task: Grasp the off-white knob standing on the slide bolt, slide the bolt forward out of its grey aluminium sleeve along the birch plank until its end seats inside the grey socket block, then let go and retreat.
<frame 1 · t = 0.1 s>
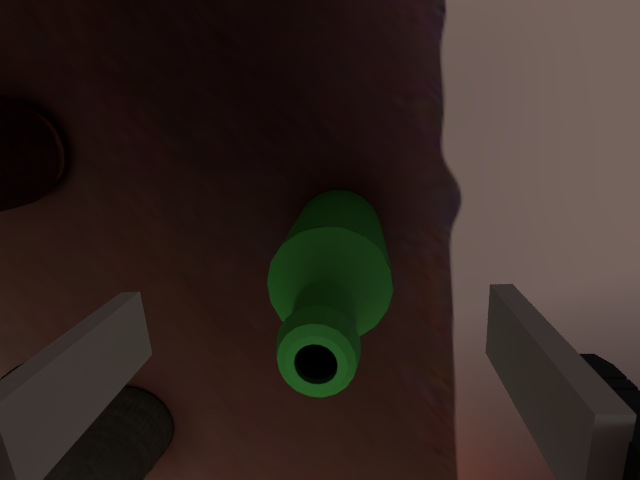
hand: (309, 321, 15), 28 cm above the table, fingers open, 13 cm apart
bottle: (338, 228, 43), on the table
lamp: (134, 420, 53), on the table
vase: (30, 149, 44), on the table
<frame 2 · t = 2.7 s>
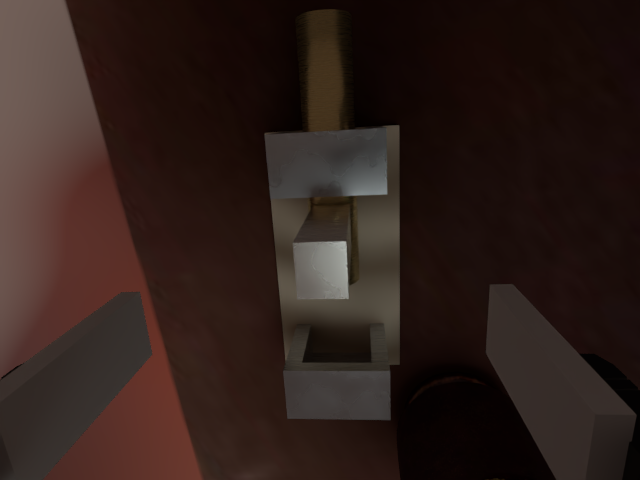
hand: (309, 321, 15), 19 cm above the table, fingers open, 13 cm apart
sleeve: (333, 155, 32), resting on plank
socket: (341, 337, 36), resting on plank
plank: (337, 252, 34), on the table
slide bolt: (325, 165, 24), point 8 cm above the table, slide at 0.0 cm
vase: (452, 412, 37), on the table
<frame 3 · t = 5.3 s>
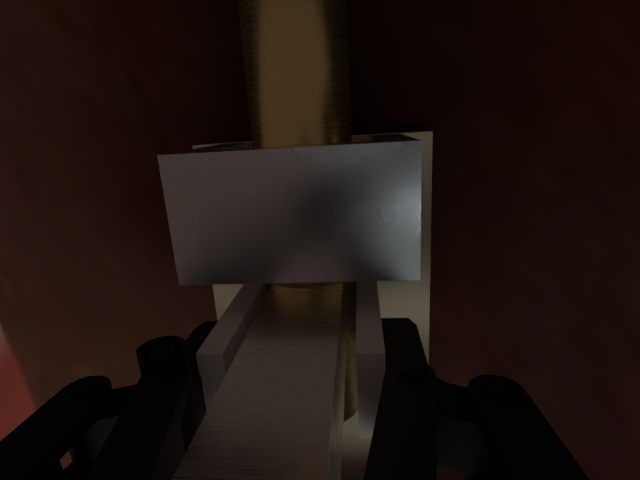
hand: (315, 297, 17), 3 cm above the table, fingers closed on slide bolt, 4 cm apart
sleeve: (314, 182, 18), resting on plank
plank: (324, 339, 21), on the table
slide bolt: (287, 223, 11), point 8 cm above the table, slide at 0.0 cm, touching gripper
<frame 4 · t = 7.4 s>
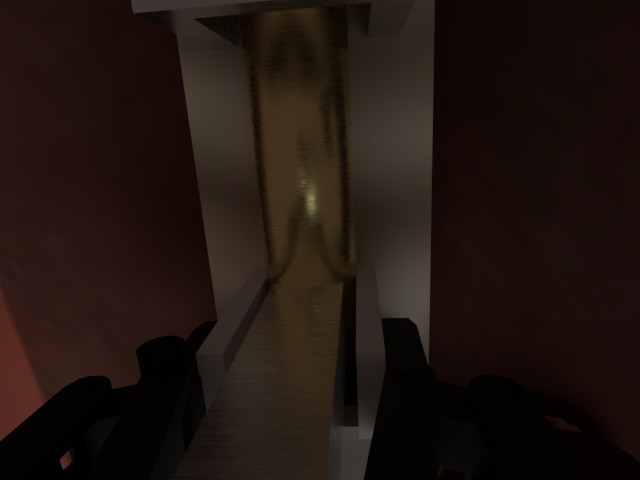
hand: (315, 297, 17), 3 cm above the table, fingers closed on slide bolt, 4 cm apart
socket: (325, 345, 21), resting on plank
plank: (315, 191, 18), on the table
slide bolt: (287, 222, 11), point 8 cm above the table, slide at 7.6 cm, touching gripper
vase: (515, 471, 22), on the table
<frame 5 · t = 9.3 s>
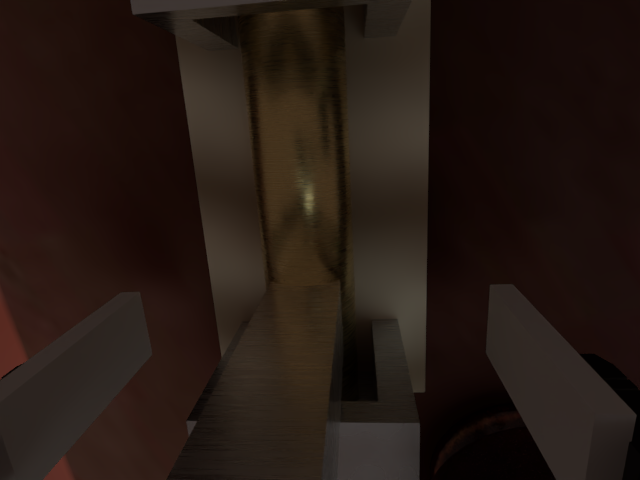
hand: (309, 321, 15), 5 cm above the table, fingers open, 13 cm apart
socket: (323, 344, 21), resting on plank
plank: (313, 190, 19), on the table
slide bolt: (285, 221, 11), point 8 cm above the table, slide at 7.6 cm
vase: (511, 468, 22), on the table
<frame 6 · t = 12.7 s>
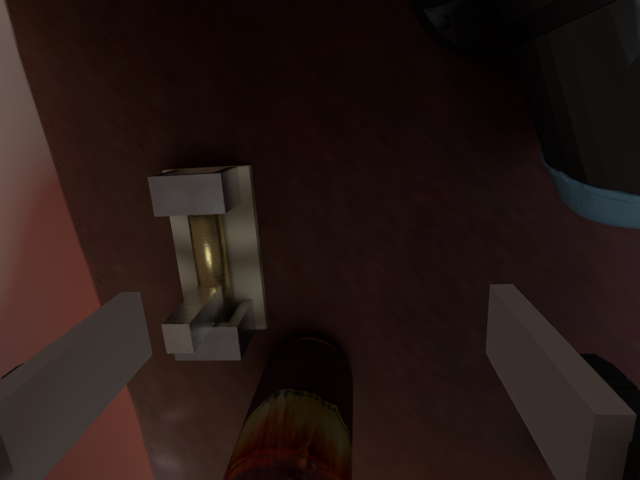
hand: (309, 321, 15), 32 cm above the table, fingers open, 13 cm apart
sleeve: (211, 184, 47), resting on plank
socket: (228, 310, 51), resting on plank
plank: (220, 250, 49), on the table
slide bolt: (195, 269, 42), point 8 cm above the table, slide at 7.6 cm
vase: (310, 364, 53), on the table
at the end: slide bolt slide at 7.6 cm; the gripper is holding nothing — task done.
